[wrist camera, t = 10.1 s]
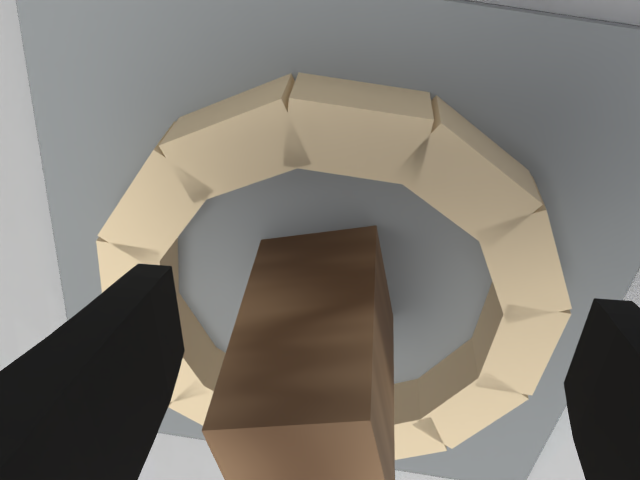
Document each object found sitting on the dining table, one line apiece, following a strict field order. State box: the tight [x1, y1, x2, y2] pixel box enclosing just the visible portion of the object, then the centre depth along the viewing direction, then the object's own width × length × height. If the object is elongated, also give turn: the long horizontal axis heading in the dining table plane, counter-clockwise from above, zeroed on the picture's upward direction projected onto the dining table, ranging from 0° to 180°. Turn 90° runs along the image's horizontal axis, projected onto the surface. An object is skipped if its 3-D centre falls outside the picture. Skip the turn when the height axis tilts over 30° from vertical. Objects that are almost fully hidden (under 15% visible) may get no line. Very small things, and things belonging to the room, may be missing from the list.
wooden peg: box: [202, 226, 395, 480], centre depth 18 cm, size 4×4×8 cm
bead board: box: [16, 0, 640, 480], centre depth 21 cm, size 20×20×2 cm
